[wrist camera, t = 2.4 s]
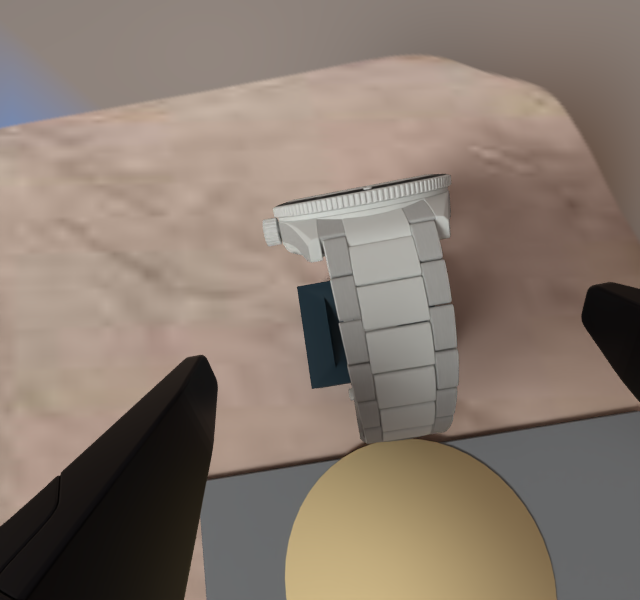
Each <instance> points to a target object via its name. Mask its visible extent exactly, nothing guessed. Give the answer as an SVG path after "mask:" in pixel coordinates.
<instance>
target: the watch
mask: <svg viewBox="0 0 640 600" xmlns="http://www.w3.org/2000/svg"><path fill="white" fill-rule="evenodd" d="M449 185H451V175H448V174H434V175H433V174H429V175H422V176H416V177H411V178H406V179H400V180H395V181H390V182H384V183H379V184H374V185H369V186H363V187H358V188H353V189H348V190H342V191H337V192H332V193H327V194H321V195H316V196H311V197H306V198H301V199H296V200H292V201H289V202H286V203H284V204H281V205H278V206H276V207H274V208H273V212H274V216H275V217H278V218H279V222H278V220H277V218H271V219H266V220H263V232H264V236H265V240H266V242H267V245H268V246H274V245H279V244H282V241H283V245H284V246H285V247H286V249H287V250H288V251H289V252H291V253H295V254H299V255H303V256H304V257H305V259H306V260H307V261H309V262H317V261H322V260H323V257H324V256H325V257H326V261H327V266H328V270H329V275H330V281H327V282H321V283H315V284H310V285H304V286H298V287H297V289H298V296H299V303H300V310H301V317H302V324H303V331H304V338H305V345H306V351H307V358H308V365H309V372H310V379H311V386H312V389H314V388H323V387H329V386H336V385H342V384H348V383H351V384H352V388H351V389H349V397H350V399H351V400H354V402H355V409H356V416H357V422H358V427H359V433H360V439H361V440H362V441H364V442H366V443H367V444H369V443H376V442H390V441H399V440H406V439H411V438H416V437H421V436H425V435H428V434H436V433H442V432H446V431H447V430H448V429H449V427H450V426H451V423H452V421H453V414H454V412H455V407H456V400H457V386H458V381H459V355H458V350H457V348H456V347H457V336H456V324H455V314H454V307H453V304H446V303H450V302H451V301H452V299H451V291H450V285H449V279H448V274H447V269H446V264H445V260H443V259H442V257H443V254H442V249H441V245H440V240H439V239H445V238H450V219H449V218H450V216H451V215H450V213H451V209H450V197H449V191H448V187H447V186H449ZM440 304H446V305H440ZM435 305H440V306H435Z"/></svg>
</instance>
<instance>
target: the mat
mask: <svg viewBox="0 0 640 600" xmlns="http://www.w3.org/2000/svg"><path fill="white" fill-rule="evenodd" d="M200 518H201V532H202V545H203V558H204V571H205V584H206V597H207V600H640V411H632V412H626V413H619V414H613V415H607V416H601V417H595V418H588V419H582V420H576V421H570V422H563V423H557V424H551V425H545V426H539V427H532V428H526V429H520V430H514V431H507V432H501V433H495V434H489V435H483V436H476V437H470V438H464V439H458V440H451V441H445V442H439V443H437V442H432V441H427V440H421V439H406V440H399V441H390V442H377V443H373V444H370V445H367V446H365V447H362V448H360V449H357V450H356V451H354V452H352V453H350V454H348V455H347V456H345V457H343V458H339V459H333V460H327V461H321V462H314V463H308V464H302V465H296V466H290V467H283V468H277V469H271V470H265V471H258V472H252V473H246V474H240V475H234V476H227V477H221V478H215V479H209V480H207V482H206V488H205V493H204V498H203V503H202V508H201V514H200Z"/></svg>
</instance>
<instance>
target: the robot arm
mask: <svg viewBox="0 0 640 600" xmlns="http://www.w3.org/2000/svg"><path fill="white" fill-rule="evenodd" d="M582 322H583V325H584V327H585V328H586V330H587V331H588V333H589V334H590V335H591V337H592V338H593V340H594V341H595V343H596V344H597V346H598V347H599V349H600V350H601V352H602V353H603V354H604V356H605V357H606V359H607V360H608V362H609V363H610V365H611V366H612V368H613V369H614V371H615V372H616V373H617V375H618V376H619V377H620V379H621V380H622V381H623V383H624V384H625V385H626V386H627V388H628V389H629V390H630V391H631V392H632V394H633V395H634V396H635V397H636V398H637V399H638V401H639V402H640V289H638V288H634V287H630V286H626V285H621V284H617V283H613V282H608V283H602V284H596V285H593V286H591V287H590V288H589V289H588V291H587V294H586V298H585V302H584V307H583V311H582ZM217 392H218V384H217V380H216V377H215V375H214V373H213V371H212V369H211V366H210V364H209V362H208V360H207V358H206V357H205V356H203V355H197V356H192V357H187V358H186V359H184V360H183V361H182V362H181V363H180V364H179V365H178V366H177V367H176V368H175V369H174V370H172V371H171V372H170V373H169V374H168V375H167V376H166V377H165V378H164V379H163V380H162V381H160V382H159V383H158V384H157V385H156V386H155V387H154V388H153V389H152V390H151V391H150V392H148V393H147V394H146V395H145V396H144V397H143V398H142V399H141V400H140V401H139V402H137V403H136V404H135V405H134V406H133V407H132V408H131V409H130V410H129V411H128V412H127V413H125V414H124V415H123V416H122V417H121V418H120V419H119V420H118V421H117V422H116V423H115V424H113V425H112V426H111V427H110V428H109V429H108V430H107V431H106V432H105V433H104V434H103V435H101V436H100V437H99V438H98V439H97V440H96V441H95V442H94V443H93V444H92V445H91V446H89V447H88V448H87V449H86V450H85V451H84V452H83V453H82V454H81V455H80V456H78V457H77V458H76V459H75V460H74V461H73V462H72V463H71V464H70V465H69V466H68V467H66V468H65V469H64V470H63V471H62V472H61V475H60V476H57V477H55V478H54V479H53V480H52V481H51V482H50V483H49V484H48V485H47V486H46V487H45V488H44V489H42V490H41V491H40V492H39V493H38V494H37V495H36V496H35V497H34V498H32V499H31V500H30V501H29V502H28V503H27V504H26V505H25V506H23V507H22V508H21V509H20V510H19V511H18V512H17V513H16V514H14V515H13V516H12V517H11V518H10V519H9V520H8V521H6V522H5V523H4V524H3V525H2V526H0V600H184V597H185V592H186V587H187V581H188V576H189V571H190V566H191V560H192V555H193V550H194V545H195V540H196V534H197V529H198V524H199V519H200V514H201V508H202V503H203V498H204V493H205V488H206V482H207V477H208V472H209V467H210V462H211V456H212V450H213V443H214V432H215V419H216V405H217Z"/></svg>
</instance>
